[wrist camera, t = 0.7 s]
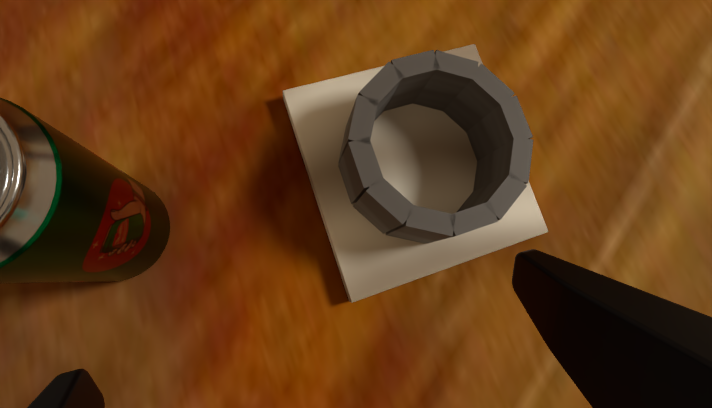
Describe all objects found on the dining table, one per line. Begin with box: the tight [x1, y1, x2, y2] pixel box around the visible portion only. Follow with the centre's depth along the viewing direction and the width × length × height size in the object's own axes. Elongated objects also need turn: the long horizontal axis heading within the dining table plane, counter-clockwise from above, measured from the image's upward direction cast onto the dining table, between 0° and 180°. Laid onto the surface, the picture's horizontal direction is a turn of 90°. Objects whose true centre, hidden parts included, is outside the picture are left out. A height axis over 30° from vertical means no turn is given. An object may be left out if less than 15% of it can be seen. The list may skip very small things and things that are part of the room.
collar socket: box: [283, 44, 548, 302], centre depth 22 cm, size 12×12×5 cm
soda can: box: [0, 98, 170, 283], centre depth 15 cm, size 5×5×12 cm
